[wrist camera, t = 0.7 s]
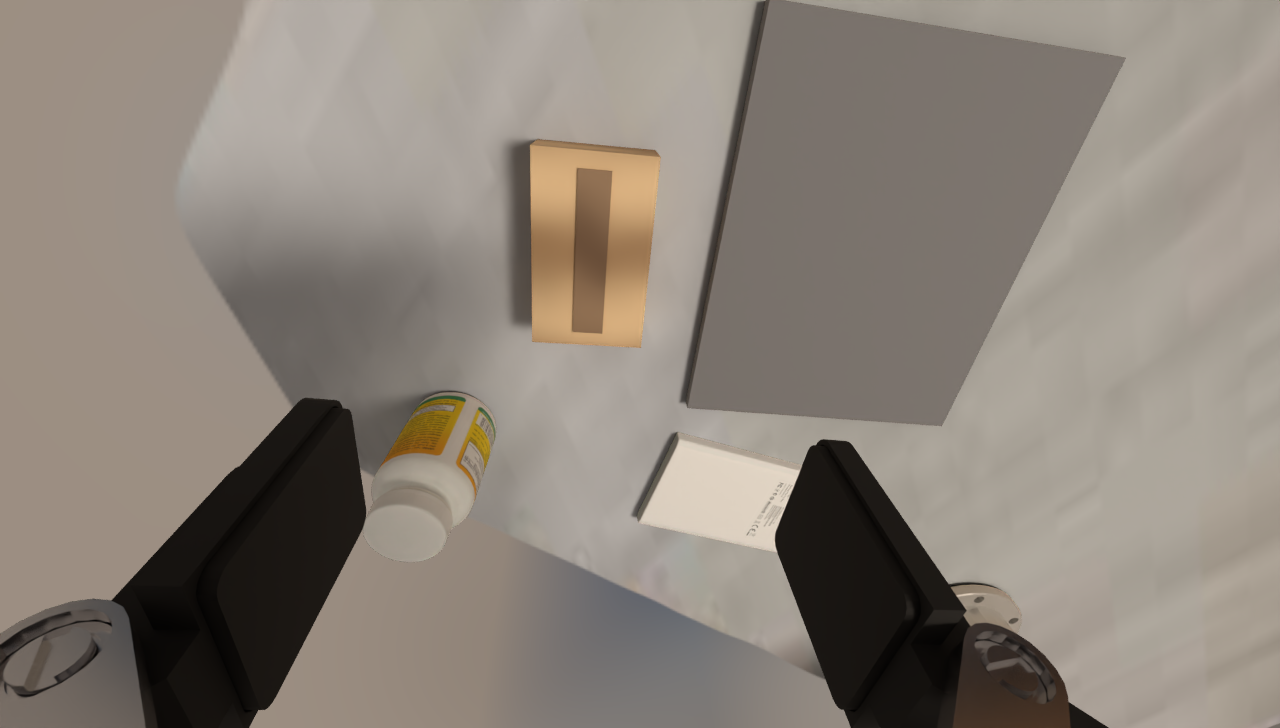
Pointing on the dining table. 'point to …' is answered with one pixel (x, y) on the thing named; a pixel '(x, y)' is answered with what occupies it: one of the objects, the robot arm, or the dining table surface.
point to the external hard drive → (719, 492)
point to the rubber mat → (881, 210)
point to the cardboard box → (590, 241)
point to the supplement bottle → (430, 477)
